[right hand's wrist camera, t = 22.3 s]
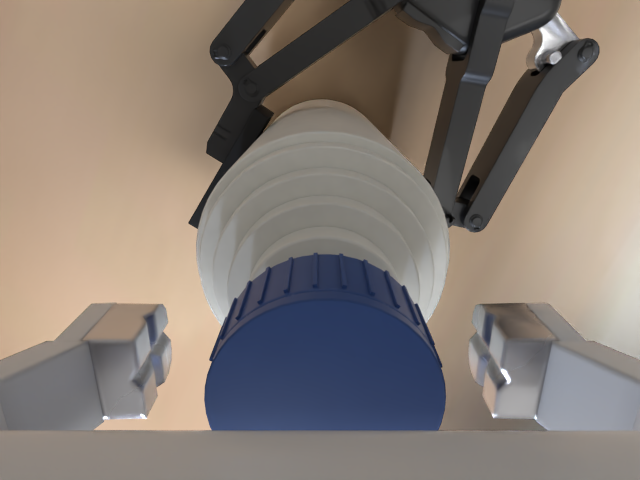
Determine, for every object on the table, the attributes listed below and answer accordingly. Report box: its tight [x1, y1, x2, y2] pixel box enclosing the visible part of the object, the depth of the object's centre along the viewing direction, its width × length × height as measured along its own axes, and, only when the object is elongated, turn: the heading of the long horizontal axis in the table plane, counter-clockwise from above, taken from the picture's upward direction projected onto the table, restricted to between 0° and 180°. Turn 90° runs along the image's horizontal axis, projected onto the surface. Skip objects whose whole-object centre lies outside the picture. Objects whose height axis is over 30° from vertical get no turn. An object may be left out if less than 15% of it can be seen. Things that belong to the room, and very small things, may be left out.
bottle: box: [196, 99, 450, 326], centre depth 19 cm, size 8×8×22 cm
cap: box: [204, 253, 446, 430], centre depth 9 cm, size 4×4×2 cm
